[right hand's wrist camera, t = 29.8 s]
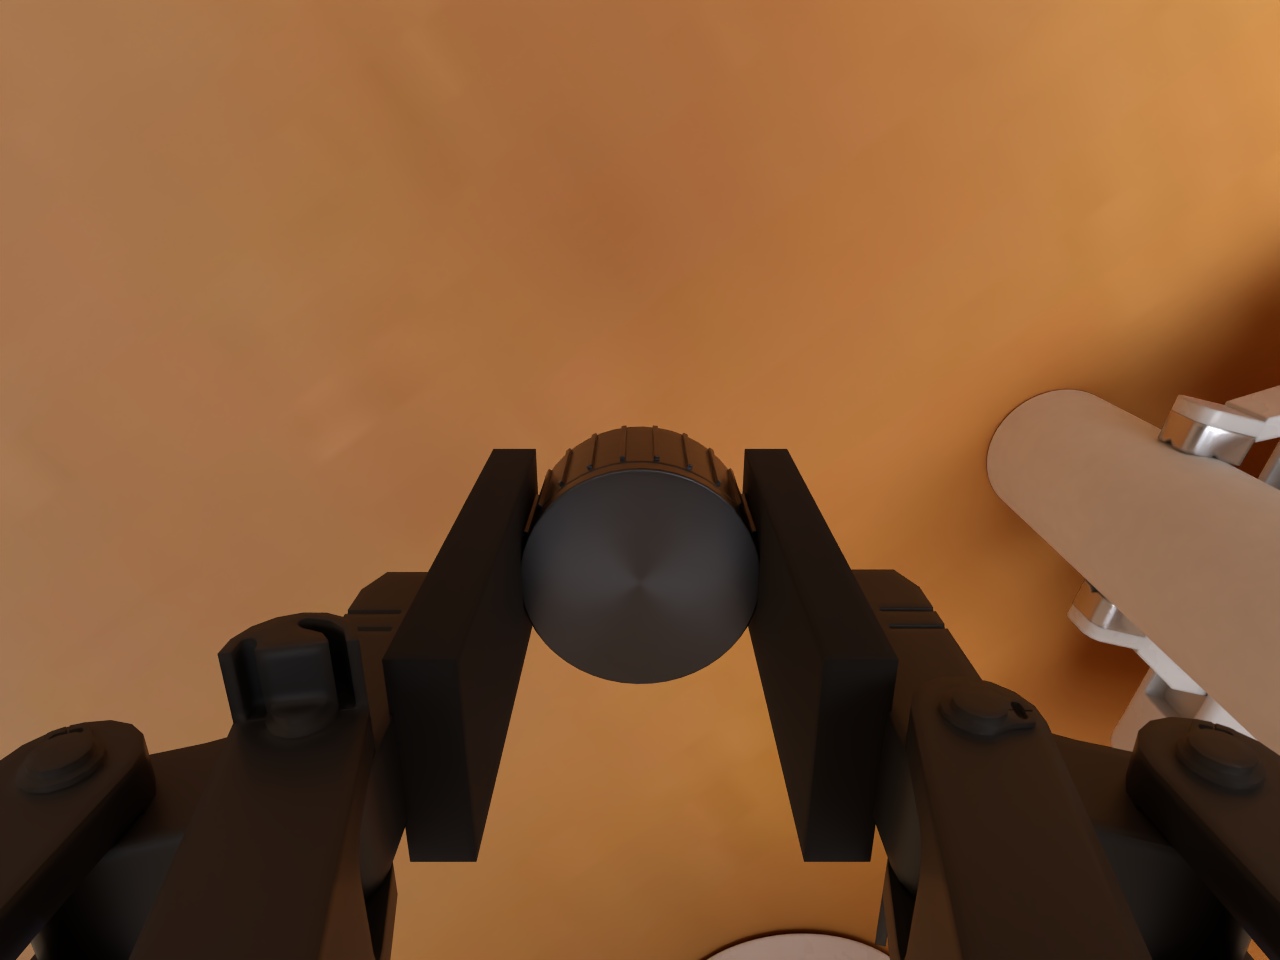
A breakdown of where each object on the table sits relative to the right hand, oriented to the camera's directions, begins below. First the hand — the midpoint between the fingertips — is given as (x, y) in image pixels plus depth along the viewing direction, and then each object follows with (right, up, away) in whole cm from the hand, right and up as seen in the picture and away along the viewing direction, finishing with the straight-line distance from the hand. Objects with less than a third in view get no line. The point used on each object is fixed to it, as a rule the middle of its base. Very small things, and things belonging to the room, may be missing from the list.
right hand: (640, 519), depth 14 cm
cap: (0, -1, -2) cm, 2 cm away
